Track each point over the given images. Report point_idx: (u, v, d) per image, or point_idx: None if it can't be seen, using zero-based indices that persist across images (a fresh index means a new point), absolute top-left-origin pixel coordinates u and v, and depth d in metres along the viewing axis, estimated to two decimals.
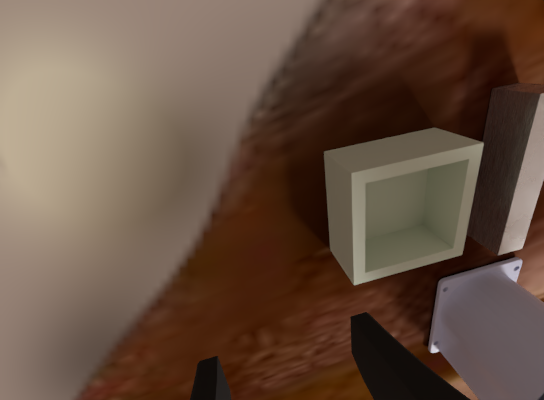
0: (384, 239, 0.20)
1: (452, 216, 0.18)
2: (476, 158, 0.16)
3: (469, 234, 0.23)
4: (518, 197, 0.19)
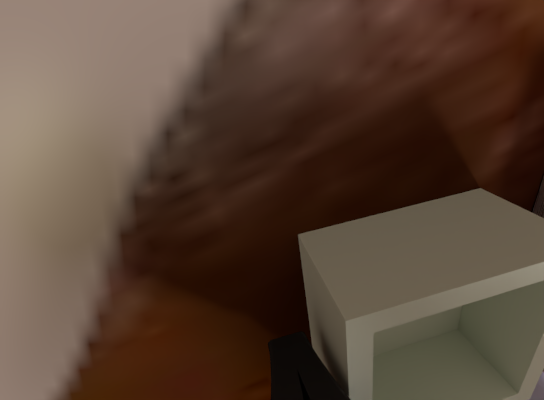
0: (400, 360, 0.13)
1: (520, 347, 0.11)
2: None
3: None
4: None
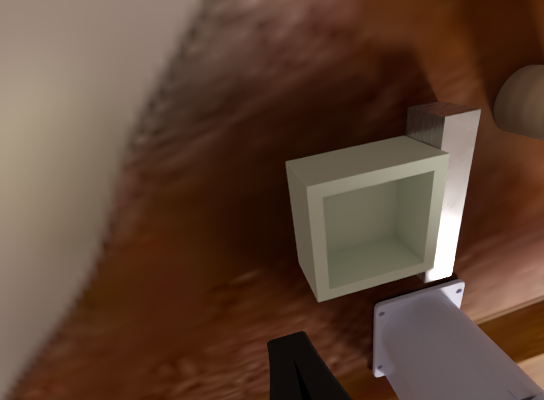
0: (354, 252, 0.20)
1: (421, 230, 0.17)
2: (442, 170, 0.15)
3: None
4: None
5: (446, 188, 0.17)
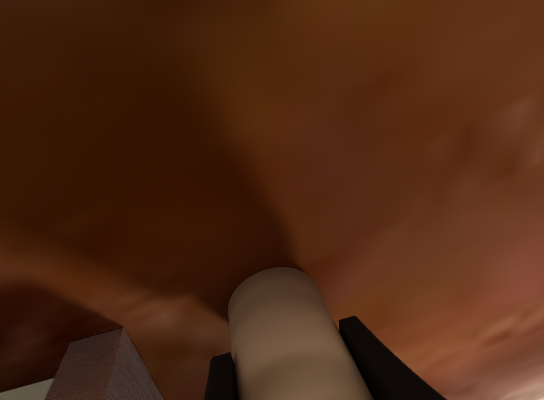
0: None
1: None
2: None
3: None
4: None
5: None
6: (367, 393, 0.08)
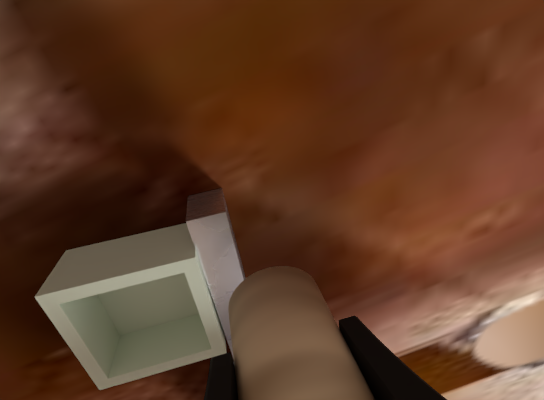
0: (161, 330, 0.20)
1: None
2: (193, 271, 0.15)
3: None
4: (224, 310, 0.18)
5: (218, 280, 0.17)
6: (368, 392, 0.08)
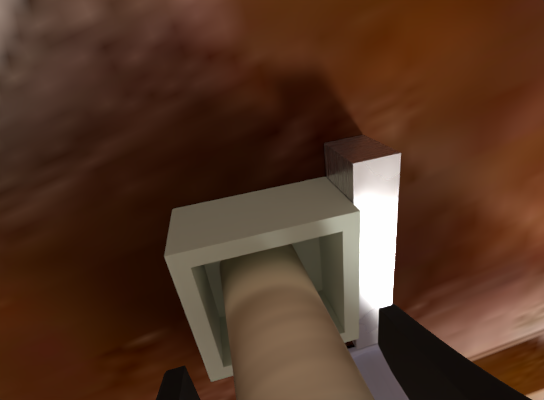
0: None
1: (340, 294, 0.14)
2: (353, 230, 0.12)
3: None
4: (363, 286, 0.14)
5: (368, 246, 0.13)
6: (327, 314, 0.11)
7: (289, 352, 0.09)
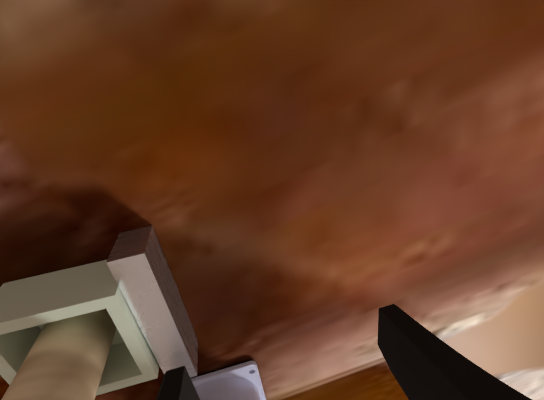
0: None
1: None
2: (115, 307, 0.16)
3: None
4: (154, 339, 0.19)
5: (145, 313, 0.18)
6: (79, 372, 0.15)
7: None
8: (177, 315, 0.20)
